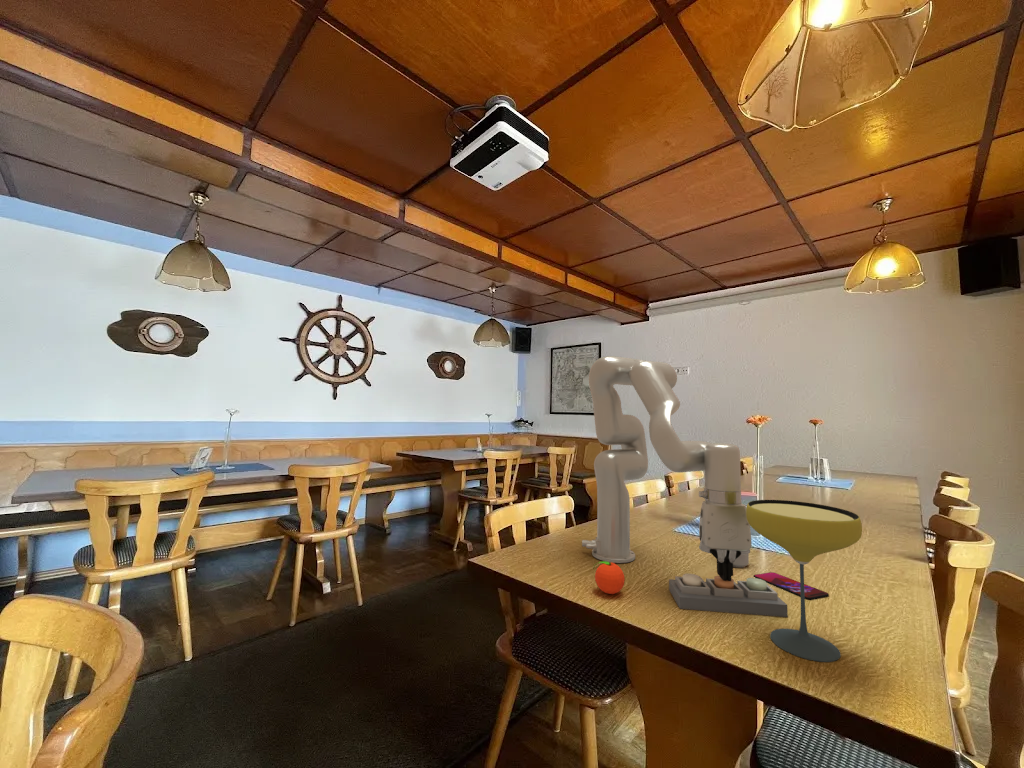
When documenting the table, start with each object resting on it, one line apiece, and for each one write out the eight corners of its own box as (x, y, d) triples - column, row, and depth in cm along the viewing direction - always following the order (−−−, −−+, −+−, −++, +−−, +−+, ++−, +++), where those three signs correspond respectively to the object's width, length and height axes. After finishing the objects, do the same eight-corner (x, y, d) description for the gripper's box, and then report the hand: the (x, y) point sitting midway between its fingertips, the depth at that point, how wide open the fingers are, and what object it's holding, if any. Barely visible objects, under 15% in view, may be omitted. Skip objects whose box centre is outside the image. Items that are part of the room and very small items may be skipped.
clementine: (585, 591, 100) (585, 561, 100) (600, 583, 105) (600, 554, 106) (616, 602, 95) (616, 569, 95) (629, 592, 100) (629, 562, 100)
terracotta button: (717, 589, 94) (717, 581, 94) (711, 582, 98) (711, 575, 98) (736, 590, 93) (736, 583, 93) (730, 583, 97) (729, 576, 97)
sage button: (751, 591, 93) (751, 584, 93) (743, 584, 97) (743, 577, 97) (770, 592, 92) (770, 585, 92) (762, 585, 96) (762, 578, 96)
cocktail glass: (881, 652, 76) (875, 513, 78) (846, 689, 66) (840, 527, 67) (773, 612, 91) (770, 496, 92) (730, 637, 80) (728, 505, 82)
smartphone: (772, 571, 114) (830, 593, 100) (772, 575, 114) (831, 597, 100) (751, 575, 111) (808, 598, 97) (751, 578, 111) (808, 602, 97)
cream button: (685, 586, 95) (685, 579, 95) (680, 579, 99) (680, 573, 99) (703, 588, 94) (703, 580, 94) (698, 581, 98) (698, 574, 98)
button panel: (679, 608, 92) (679, 590, 92) (669, 589, 102) (668, 572, 102) (787, 617, 89) (787, 597, 89) (765, 596, 99) (765, 579, 99)
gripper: (693, 499, 94) (695, 583, 93) (764, 501, 92) (767, 587, 91) (684, 493, 102) (686, 570, 100) (750, 495, 100) (752, 574, 98)
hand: (725, 578), depth 95 cm, fingers closed
